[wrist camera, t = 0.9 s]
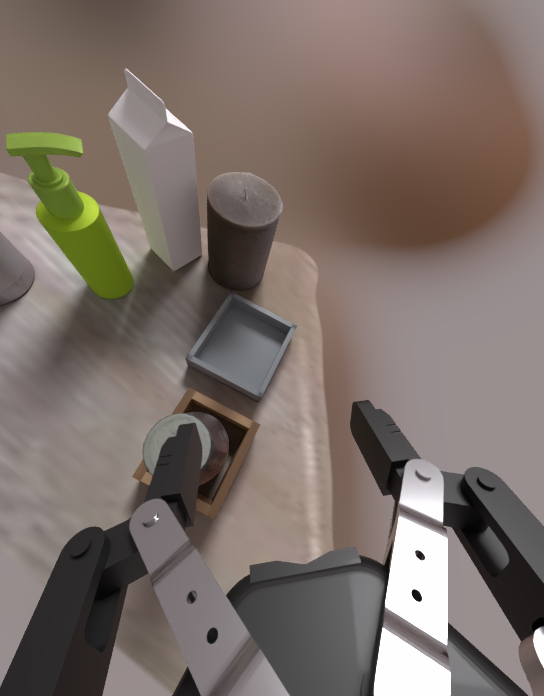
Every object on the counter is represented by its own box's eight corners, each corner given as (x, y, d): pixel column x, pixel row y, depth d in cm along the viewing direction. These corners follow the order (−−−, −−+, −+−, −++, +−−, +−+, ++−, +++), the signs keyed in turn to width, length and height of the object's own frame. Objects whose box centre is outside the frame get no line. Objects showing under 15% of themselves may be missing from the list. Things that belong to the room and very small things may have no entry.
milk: (173, 272, 43) (134, 112, 22) (150, 248, 43) (91, 73, 23) (203, 254, 45) (191, 95, 25) (180, 232, 46) (150, 60, 25)
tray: (187, 365, 37) (185, 357, 34) (230, 301, 42) (231, 291, 40) (257, 401, 37) (261, 397, 35) (291, 334, 42) (297, 326, 40)
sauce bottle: (230, 426, 35) (245, 399, 17) (225, 476, 33) (235, 507, 15) (181, 422, 34) (141, 389, 16) (171, 474, 32) (112, 503, 14)
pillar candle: (207, 289, 43) (205, 213, 29) (208, 242, 46) (207, 154, 32) (265, 292, 45) (289, 223, 31) (262, 247, 48) (282, 167, 34)
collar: (141, 473, 31) (132, 476, 28) (191, 393, 36) (189, 387, 32) (214, 512, 31) (214, 519, 28) (255, 427, 36) (260, 424, 32)
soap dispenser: (143, 294, 40) (82, 163, 22) (92, 302, 38) (-22, 164, 20) (138, 263, 42) (77, 118, 24) (89, 269, 40) (-19, 115, 22)
